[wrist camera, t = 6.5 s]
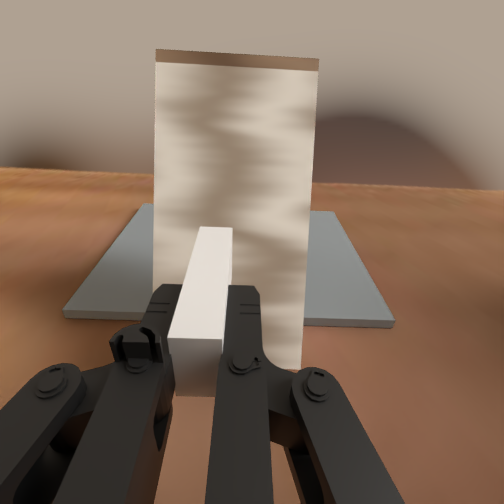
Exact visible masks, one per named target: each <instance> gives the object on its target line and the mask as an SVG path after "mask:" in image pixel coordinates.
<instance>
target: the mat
mask: <svg viewBox="0 0 504 504" xmlns="http://www.w3.org/2000/svg"><path fill="white" fill-rule="evenodd" d="M153 229H154V204H143V205H142V206H141V208H140V209H139V210H138V212H137V213H136V214H135V216H134V217H133V218H132V219H131V221H130V222H129V223H128V225H127V226H126V227H125V229H124V230H123V231H122V232H121V234H120V235H119V236H118V238H117V239H116V240H115V242H114V243H113V244H112V245H111V247H110V248H109V249H108V251H107V252H106V253H105V254H104V256H103V257H102V258H101V260H100V261H99V262H98V264H97V265H96V266H95V267H94V269H93V270H92V271H91V273H90V274H89V275H88V277H87V278H86V279H85V280H84V282H83V283H82V284H81V286H80V287H79V288H78V290H77V291H76V292H75V293H74V295H73V296H72V297H71V299H70V300H69V301H68V303H67V304H66V305H65V306H64V308H63V309H62V311H63V314H64V316H65V318H81V319H114V320H142V318H143V316H144V314H145V313H146V309H147V306H148V304H149V302H150V299H151V297H152V294H153ZM394 323H395V319H394V317H393V315H392V313H391V312H390V310H389V308H388V306H387V305H386V303H385V301H384V299H383V298H382V296H381V294H380V292H379V291H378V289H377V287H376V285H375V284H374V282H373V280H372V278H371V277H370V275H369V273H368V271H367V270H366V268H365V266H364V264H363V263H362V261H361V259H360V257H359V256H358V254H357V252H356V250H355V249H354V247H353V245H352V243H351V242H350V240H349V238H348V236H347V235H346V233H345V231H344V229H343V228H342V226H341V224H340V222H339V221H338V219H337V217H336V215H335V214H334V212H328V211H310V219H309V235H308V252H307V269H306V286H305V303H304V320H303V325H308V326H340V327H373V328H392V327H393V325H394Z"/></svg>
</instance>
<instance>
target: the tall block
mask: <svg viewBox="0 0 504 504" xmlns="http://www.w3.org/2000/svg"><path fill="white" fill-rule="evenodd" d="M318 67H319V59H315V58H298V57H281V56H265V55H248V54H231V53H215V52H197V51H181V50H164V49H156V75H155V77H156V78H155V151H154V155H155V156H154V229H153V292H154V291H155V290H156V289H157V288H158V287H159V286H160V285H162V284H183V282H184V279H185V276H186V272H187V269H188V266H189V262H190V259H191V255H192V252H193V249H194V245H195V242H196V238H197V235H198V232H199V228H200V226H202V227H229V228H233V232H232V280H231V285H252V286H255V288H256V289H257V291H258V292H259V294H260V307H261V324H262V343H263V350H264V353H265V355H266V357H267V358H268V359H269V361H270V362H271V363H273V364H274V365H275V366H277V367H279V368H282V369H301V353H302V336H303V320H304V303H305V286H306V269H307V252H308V235H309V219H310V202H311V185H312V167H313V151H314V134H315V117H316V100H317V84H318Z"/></svg>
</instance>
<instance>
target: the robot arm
mask: <svg viewBox="0 0 504 504" xmlns="http://www.w3.org/2000/svg"><path fill="white" fill-rule="evenodd" d="M232 232H233V228H229V227H202V226H200V228H199V232H198V235H197V238H196V242H195V245H194V249H193V252H192V255H191V259H190V262H189V266H188V269H187V272H186V276H185V279H184V282H183V284H162V285H160V286H159V287H158V288H157V289H156V290H155V291H154V292H153V294H152V297H151V299H150V302H149V304H148V306H147V309H146V313H145V314H144V316H143V318H142V321H141V323H140V324H134V325H130V326H128V327H125V328H123V329H121V330H120V331H118V332H117V333H116V334H114V336H113V337H112V338H111V340H110V341H109V343H110V347H111V350H112V353H113V356H114V360H115V362H113V363H111V364H108V365H105V366H103V367H99V368H95V369H91V370H87V371H83V372H80V370H79V368H78V367H77V366H75V365H73V364H68V363H61V364H57V365H52V366H50V367H48V368H46V369H44V370H42V371H40V372H39V373H37V374H36V375H35V376H34V377H33V378H31V379H30V380H29V381H28V382H27V383H26V384H25V385H24V386H23V387H22V388H21V389H20V390H19V391H18V393H17V394H16V395H15V396H14V397H13V398H12V399H11V400H10V401H9V402H8V403H7V404H6V405H5V406H4V407H3V408H2V409H1V410H0V504H154V499H155V495H156V490H157V485H158V481H159V476H160V471H161V466H162V462H163V457H164V452H165V448H166V443H167V438H168V433H169V429H170V424H171V419H172V412H173V407H172V398H173V394H174V389H175V392H176V396H204V397H215V406H214V416H213V426H212V436H211V446H210V456H209V466H208V476H207V486H206V496H205V504H274V501H273V484H272V467H271V449H270V441H272V442H274V443H277V444H279V445H282V446H283V447H284V451H285V454H286V457H287V460H288V463H289V467H290V470H291V473H292V476H293V479H294V483H295V486H296V489H297V492H298V495H299V499H300V502H301V504H405V503H404V501H403V499H402V497H401V495H400V494H399V492H398V490H397V488H396V486H395V484H394V483H393V481H392V479H391V477H390V475H389V473H388V472H387V470H386V468H385V466H384V464H383V463H382V461H381V459H380V457H379V455H378V453H377V452H376V450H375V448H374V446H373V444H372V442H371V441H370V439H369V437H368V435H367V433H366V431H365V430H364V428H363V426H362V424H361V422H360V421H359V419H358V417H357V415H356V413H355V411H354V410H353V408H352V406H351V404H350V402H349V400H348V399H347V397H346V395H345V393H344V391H343V389H342V388H341V386H340V384H339V383H338V381H337V380H336V379H335V378H334V376H333V375H331V374H330V373H328V372H327V371H325V370H323V369H320V368H316V367H307V368H304V369H302V370H299V371H298V372H297V374H296V373H293V372H290V371H287V370H284V369H282V368H279V367H277V366H275V365H274V364H273V363H271V362H270V361H269V359H268V358H267V357H266V355H265V353H264V350H263V343H262V324H261V307H260V294H259V292H258V291H257V289H256V288H255V286H252V285H231V280H232Z"/></svg>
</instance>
